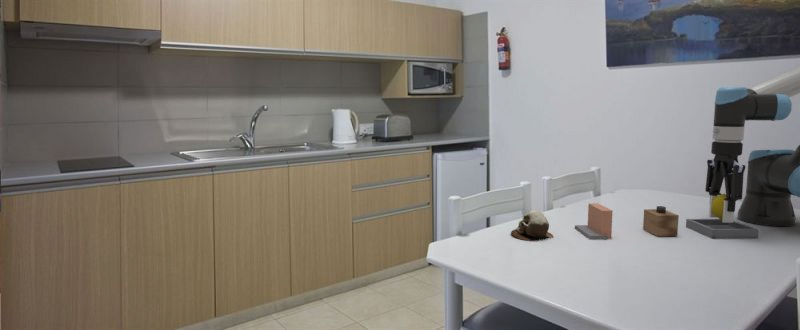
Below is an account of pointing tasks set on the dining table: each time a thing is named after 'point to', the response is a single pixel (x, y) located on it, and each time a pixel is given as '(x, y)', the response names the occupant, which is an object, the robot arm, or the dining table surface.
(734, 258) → the dining table surface
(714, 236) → the tray
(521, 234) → the skull
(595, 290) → the dining table surface
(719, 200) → the lemon
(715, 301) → the dining table surface
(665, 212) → the wooden block with knob
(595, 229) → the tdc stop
